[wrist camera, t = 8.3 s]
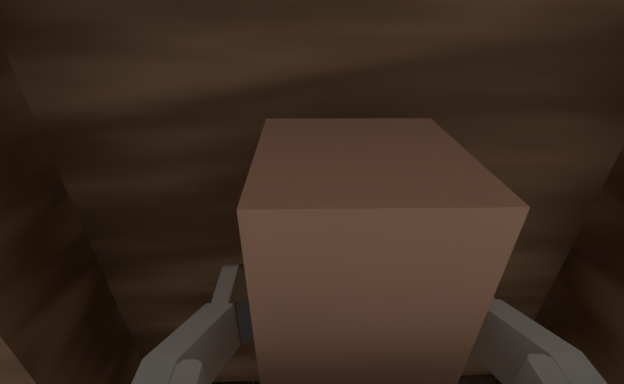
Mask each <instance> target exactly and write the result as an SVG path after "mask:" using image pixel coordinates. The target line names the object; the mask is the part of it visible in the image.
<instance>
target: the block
mask: <svg viewBox="0 0 624 384" xmlns="http://www.w3.org/2000/svg"><path fill="white" fill-rule="evenodd" d="M529 209H530V207H529V206H528V205H527V204H526V203H525V202H524V201H523V200H521V199H520V198H519V197H518V196H517V195H516V194H515V193H514V192H513V191H511V190H510V189H509V188H508V187H507V186H506V185H505V184H504V183H502V182H501V181H500V180H499V179H498V178H497V177H496V176H495V175H494V174H492V173H491V172H490V171H489V170H488V169H487V168H486V167H485V166H483V165H482V164H481V163H480V162H479V161H478V160H477V159H476V158H475V157H473V156H472V155H471V154H470V153H469V152H468V151H467V150H466V149H464V148H463V147H462V146H461V145H460V144H459V143H458V142H457V141H456V140H454V139H453V138H452V137H451V136H450V135H449V134H448V133H447V132H445V131H444V130H443V129H442V128H441V127H440V126H439V125H438V124H437V123H435V122H434V121H433V120H432V119H431V118H266V121H265V124H264V127H263V130H262V133H261V136H260V139H259V142H258V145H257V148H256V151H255V154H254V158H253V161H252V164H251V167H250V170H249V173H248V176H247V179H246V182H245V185H244V188H243V191H242V194H241V197H240V201H239V204H238V207H237V217H238V224H239V232H240V239H241V247H242V254H243V262H244V269H245V277H246V284H247V292H248V299H249V307H250V314H251V322H252V329H253V337H254V344H255V352H256V359H257V367H258V374H259V382H260V384H458V382H459V380H460V377H461V375H462V372H463V370H464V367H465V365H466V363H467V360H468V358H469V355H470V353H471V350H472V348H473V346H474V343H475V341H476V338H477V336H478V333H479V331H480V328H481V326H482V324H483V321H484V319H485V316H486V314H487V311H488V309H489V306H490V304H491V302H492V299H493V297H494V294H495V292H496V289H497V287H498V285H499V282H500V280H501V277H502V275H503V272H504V270H505V267H506V265H507V263H508V260H509V258H510V255H511V253H512V250H513V248H514V245H515V243H516V241H517V238H518V236H519V233H520V231H521V228H522V226H523V224H524V221H525V219H526V216H527V214H528V211H529Z"/></svg>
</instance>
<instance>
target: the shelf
mask: <svg viewBox="0 0 624 384" xmlns="http://www.w3.org/2000/svg"><path fill="white" fill-rule="evenodd" d="M266 118H431V119H432V120H433V121H434V122H435V123H437V124H438V125H439V126H440V127H441V128H442V129H443V130H444V131H445V132H447V133H448V134H449V135H450V136H451V137H452V138H453V139H454V140H456V141H457V142H458V143H459V144H460V145H461V146H462V147H463V148H464V149H466V150H467V151H468V152H469V153H470V154H471V155H472V156H473V157H475V158H476V159H477V160H478V161H479V162H480V163H481V164H482V165H483V166H485V167H486V168H487V169H488V170H489V171H490V172H491V173H492V174H494V175H495V176H496V177H497V178H498V179H499V180H500V181H501V182H502V183H504V184H505V185H506V186H507V187H508V188H509V189H510V190H511V191H513V192H514V193H515V194H516V195H517V196H518V197H519V198H520V199H521V200H523V201H524V202H525V203H526V204H527V205H528V206H529V207H530V209H529V211H528V214H527V216H526V219H525V221H524V224H523V226H522V228H521V231H520V233H519V236H518V238H517V241H516V243H515V245H514V248H513V250H512V253H511V255H510V258H509V260H508V263H507V265H506V267H505V270H504V272H503V275H502V277H501V280H500V282H499V285H498V287H497V289H496V292H495V294H494V297H495V299H501V300H502V301H504V302H505V303H507V304H508V305H510V306H511V307H513V308H515V309H516V310H518V311H519V312H521V313H522V314H524V315H525V316H527V317H529V318H530V319H532V320H533V321H535V322H536V323H538V324H539V325H541V326H543V327H544V328H546V329H547V330H549V331H550V332H552V333H553V334H555V335H557V336H558V337H560V338H561V339H563V340H564V341H566V342H567V343H569V344H571V345H572V346H574V347H575V348H577V349H578V350H580V351H581V352H583V354H584V355H585V356H586V357H587V359H588V360H589V361H590V362H591V364H592V365H593V366H594V367H595V369H596V370H597V371H598V372H599V374H600V375H601V376H602V377H603V379H604V380H605V381H606V382H607V384H624V0H0V384H131V383H132V381H133V379H134V376H135V374H136V372H137V370H138V368H139V365H140V363H141V361H142V359H143V358H144V357H145V356H146V355H148V354H149V353H150V352H151V351H152V350H153V349H154V348H156V347H157V346H158V345H159V344H160V343H161V342H162V341H164V340H165V339H166V338H167V337H168V336H169V335H170V334H172V333H173V332H174V331H175V330H176V329H177V328H178V327H180V326H181V325H182V324H183V323H184V322H185V321H186V320H188V319H189V318H190V317H191V316H192V315H193V314H194V313H196V312H197V311H198V310H199V309H200V308H201V307H202V306H204V305H205V304H206V303H211V301H212V298H213V294H214V291H215V288H216V285H217V282H218V278H219V275H220V272H221V269H222V267H223V265H224V264H239V265H240V264H244V262H243V254H242V247H241V239H240V232H239V224H238V217H237V207H238V204H239V201H240V197H241V194H242V191H243V188H244V185H245V182H246V179H247V176H248V173H249V170H250V167H251V164H252V161H253V158H254V154H255V151H256V148H257V145H258V142H259V139H260V136H261V133H262V130H263V127H264V124H265V121H266ZM462 375H493V374H492V373H491V372H490V371H489V370H488V369H487V368H486V367H485V366H484V365H483V364H482V363H481V362H480V361H478V360H477V359H476V358H475V357H474V356H473V355H472V354H471V353H470V355H469V358H468V360H467V363H466V365H465V367H464V370H463V372H462ZM462 375H461V376H462ZM236 381H259V374H258V367H257V359H256V352H255V344H254V343H241V345H240V347H239V348H238V349H237V351H236V352H235V353H234V355H233V356H232V357H231V359H230V360H229V361H228V362H227V364H226V365H225V366H224V368H223V369H222V370H221V372H220V373H219V374H218V376H217V377H216V378H215V380H214V381H213V382H236Z"/></svg>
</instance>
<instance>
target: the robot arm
mask: <svg viewBox="0 0 624 384" xmlns="http://www.w3.org/2000/svg"><path fill="white" fill-rule="evenodd" d="M241 343H254V337H253V329H252V322H251V314H250V307H249V299H248V292H247V284H246V277H245V269H244V264H240V265H239V264H224V265H223V267H222V269H221V272H220V275H219V278H218V282H217V285H216V288H215V291H214V294H213V298H212V301H211V303H206V304H205V305H204V306H202V307H201V308H200V309H199V310H198V311H197V312H196V313H194V314H193V315H192V316H191V317H190V318H189V319H188V320H186V321H185V322H184V323H183V324H182V325H181V326H180V327H178V328H177V329H176V330H175V331H174V332H173V333H172V334H170V335H169V336H168V337H167V338H166V339H165V340H164V341H162V342H161V343H160V344H159V345H158V346H157V347H156V348H154V349H153V350H152V351H151V352H150V353H149V354H148V355H146V356H145V357H144V358H143V359H142V361H141V363H140V365H139V368H138V370H137V372H136V374H135V376H134V379H133V381H132V383H131V384H212V382H213V381H214V380H215V378H216V377H217V376H218V374H219V373H220V372H221V370H222V369H223V368H224V366H225V365H226V364H227V362H228V361H229V360H230V359H231V357H232V356H233V355H234V353H235V352H236V351H237V349H238V348H239V347H240V345H241ZM471 354H472V355H473V356H474V357H475V358H476V359H477V360H478V361H480V362H481V363H482V364H483V365H484V366H485V367H486V368H487V369H488V370H489V371H490V372H491V373H492V374H493V375H494V376H495V377H496V378H497V379H498V380H499V381H500V382H501V383H502V384H607V382H606V381H605V380H604V379H603V377H602V376H601V375H600V374H599V372H598V371H597V370H596V369H595V367H594V366H593V365H592V364H591V362H590V361H589V360H588V359H587V357H586V356H585V355H584V354H583V352H581V351H580V350H578V349H577V348H575V347H574V346H572V345H571V344H569V343H567V342H566V341H564V340H563V339H561V338H560V337H558V336H557V335H555V334H553V333H552V332H550V331H549V330H547V329H546V328H544V327H543V326H541V325H539V324H538V323H536V322H535V321H533V320H532V319H530V318H529V317H527V316H525V315H524V314H522V313H521V312H519V311H518V310H516V309H515V308H513V307H511V306H510V305H508V304H507V303H505V302H504V301H502V300H501V299H495V297H493V299H492V302H491V304H490V306H489V309H488V311H487V314H486V316H485V319H484V321H483V324H482V326H481V328H480V331H479V333H478V336H477V338H476V341H475V343H474V346H473V348H472V350H471Z"/></svg>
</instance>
